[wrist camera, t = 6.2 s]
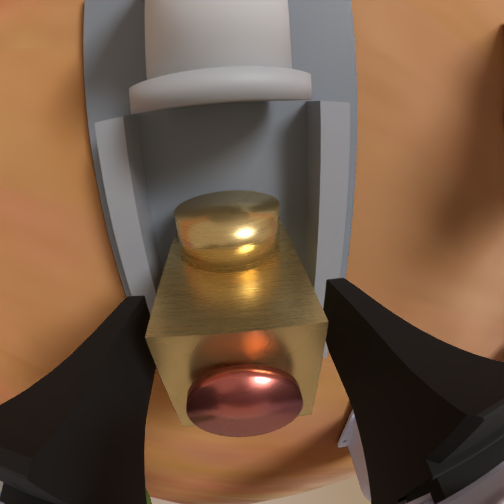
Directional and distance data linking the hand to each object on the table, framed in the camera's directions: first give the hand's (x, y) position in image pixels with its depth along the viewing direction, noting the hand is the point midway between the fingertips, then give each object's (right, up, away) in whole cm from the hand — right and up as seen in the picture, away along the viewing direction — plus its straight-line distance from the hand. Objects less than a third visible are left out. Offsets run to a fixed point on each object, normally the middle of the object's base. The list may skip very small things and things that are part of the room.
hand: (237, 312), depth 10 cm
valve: (0, +1, +2) cm, 3 cm away
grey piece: (-1, +5, +1) cm, 5 cm away
